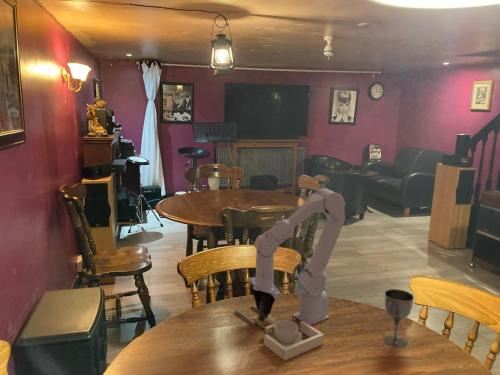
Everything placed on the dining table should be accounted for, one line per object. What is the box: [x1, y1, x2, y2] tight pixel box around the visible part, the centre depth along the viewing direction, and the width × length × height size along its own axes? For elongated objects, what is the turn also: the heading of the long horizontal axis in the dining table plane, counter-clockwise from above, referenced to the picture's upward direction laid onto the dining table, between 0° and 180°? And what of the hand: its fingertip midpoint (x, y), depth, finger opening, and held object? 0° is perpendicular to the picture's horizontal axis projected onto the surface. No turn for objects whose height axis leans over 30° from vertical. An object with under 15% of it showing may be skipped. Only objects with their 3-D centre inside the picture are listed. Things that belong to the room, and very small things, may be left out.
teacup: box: [269, 319, 303, 348], centre depth 121 cm, size 10×10×5 cm
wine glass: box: [382, 288, 414, 348], centre depth 121 cm, size 8×8×15 cm
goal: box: [263, 320, 325, 361], centre depth 119 cm, size 15×10×3 cm, turn 125°
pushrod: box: [251, 301, 293, 335], centre depth 129 cm, size 10×12×7 cm
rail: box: [234, 303, 274, 326], centre depth 136 cm, size 8×11×1 cm
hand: (263, 311), depth 131 cm, fingers closed on pushrod, 3 cm apart
